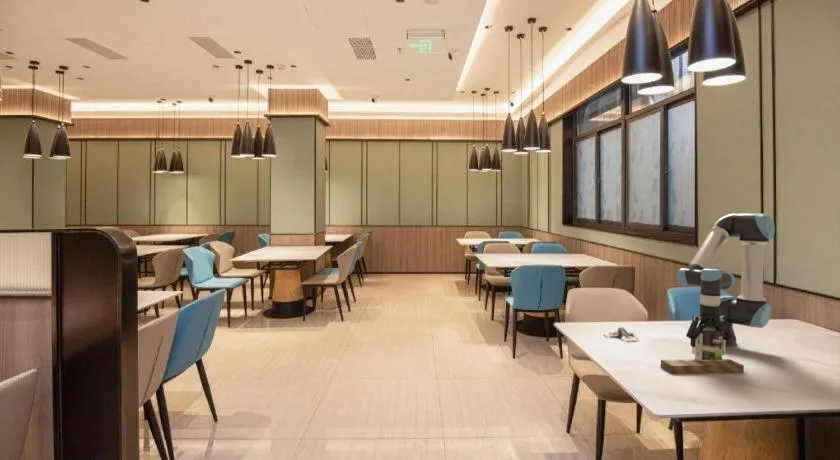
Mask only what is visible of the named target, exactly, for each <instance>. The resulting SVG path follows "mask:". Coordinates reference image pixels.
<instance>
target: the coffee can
mask: <svg viewBox="0 0 840 460" xmlns="http://www.w3.org/2000/svg"><path fill="white" fill-rule="evenodd" d="M696 340H698V354H697V355H694V360H705V359H723V355H722V343H723V331H719V330H716V328H709V327H705V328H704V329H703V330H700V335H699V336H698V337H697V339H696Z"/></svg>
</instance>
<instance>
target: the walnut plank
mask: <svg viewBox="0 0 840 460" xmlns="http://www.w3.org/2000/svg"><path fill="white" fill-rule="evenodd" d="M660 367H661V368H662V369H663V368H664V370H666V371H667V372H669V373H670V374H731V373H733V374H736V373H738V374H739V373H740V374H743V373H744V369H745V368H744V365H743V364H742V363H740V362H737V361H735V360H733V359H730V358H727V359H723V358H722V359H705V360H695V359H661V360H660Z"/></svg>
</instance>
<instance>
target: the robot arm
mask: <svg viewBox="0 0 840 460" xmlns="http://www.w3.org/2000/svg"><path fill="white" fill-rule="evenodd" d="M775 231H776V227H775V223H774V219H773V218H772V216H770V214H767V213H758V212H757V213H753V212H752V213H751V212H750V213H741V212H740V213H737V212H735V213H734V212H733V213H729V214H727V215H726V214H725V215H724V216H722V217H720V218H719V219H717V220H716V221H715V222H714V223H712V225H711V226H710V227H709V229H708V230H707V236H706V238H705V239H704V241H703V243H702V244H701V246H700V247H699V249H698V251H697V252H696V254H695V256H694V257H693V258H692V260H691V262H690V264H689V265H688V266H687V268H686V267H685V268H684V267H683V268H679V270H678V271H677V273H676V274H677V276H676V277H677V278H676V279H677V281H678V284H679V283H680V284H681V285H685V286H693V287H694V286H695V287H700V293H699V294H700V295H699V296H700V297H699V298H700V299H699V302H700V304H699V313H700V314H699V315H698V316H697V315H693V316H692V319H691V320H692V321H691V323H690V325H689V327H688V330H687V332H686V335H685V336H686V338H688V339H690V347H691V354H692V355H694V356H695V355H697V354H698V340H696V339H697V337H698V336H699V335H700V330H703V329H704V328H705V327H709V328H716V330H719V331H723V343H722V356H726V347H728V346H736V345H737V337H736V334H735V330H734V328H733V326H734V325H738V326H739V325H740V326H745V327H750V328H757V329H761V328H764V327H765V326H767V325H768V323H769V321H770V319H771V314H772V307H771V305H770V304H768V303H767V299H766V298H765V297H764V295H763V289H764V270H765V269H764V267H765V246H766V245H767V244H768V243H769V242H770V239H773V238H774V236H775V233H776V232H775ZM730 238H739V239H738V240H739V243H741V245H742V255H741V257H742V259H741V260H742V261H741V278H740V280H741V281H740V283H741V284H740V294H739V295H737V296H736V299H735V298H734V296H732V295H722V294H721V291H722V290H728V289H730V288H732V287H733V286H734V285H735V283H736V278H735V276H734V274H732V273H731V272H728V271H722V270H720V269H719V268H710V266H711V265H712V263H713V262H714V260H715V258H716V256H717V254H718V253H719V251H721V248H722V247H723V245H724V244H725V243H726V242H728V241H729V239H730ZM733 324H734V325H733Z"/></svg>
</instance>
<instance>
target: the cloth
mask: <svg viewBox="0 0 840 460" xmlns="http://www.w3.org/2000/svg"><path fill="white" fill-rule="evenodd" d="M603 337H605V338H606V339H620V340H621V341H622V342H623V343H634V342H635V343H636V342H640V340H639V337H638V336H636V337H635V334H634V332H632V331H628V330H626V328H625V327H624V326H623V325H621V326H619V327H618V328H617V330H610V331H608V332H605V333H604V334H603Z"/></svg>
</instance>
